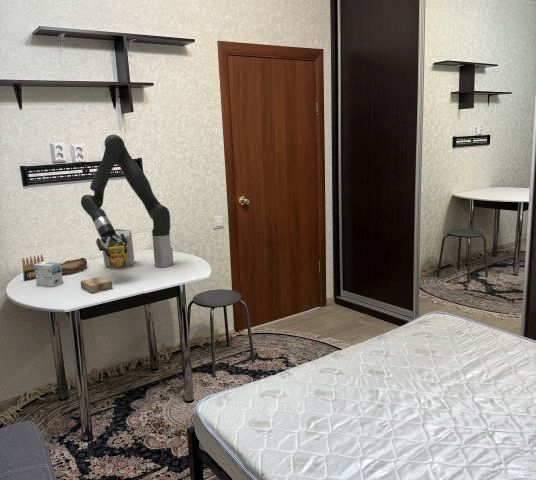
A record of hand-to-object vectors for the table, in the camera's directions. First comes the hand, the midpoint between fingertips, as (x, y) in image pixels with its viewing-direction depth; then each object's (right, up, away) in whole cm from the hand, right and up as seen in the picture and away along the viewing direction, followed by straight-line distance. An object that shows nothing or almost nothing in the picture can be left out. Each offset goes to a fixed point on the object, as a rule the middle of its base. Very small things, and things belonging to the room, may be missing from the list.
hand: (118, 254), depth 240 cm
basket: (-36, -10, +28) cm, 47 cm away
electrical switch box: (-9, -8, +33) cm, 35 cm away
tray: (-9, -16, -5) cm, 19 cm away
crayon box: (-1, -6, +2) cm, 7 cm away
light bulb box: (-35, -15, +4) cm, 38 cm away
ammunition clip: (-47, -13, +14) cm, 50 cm away
